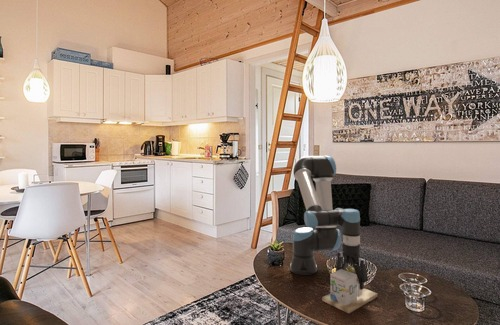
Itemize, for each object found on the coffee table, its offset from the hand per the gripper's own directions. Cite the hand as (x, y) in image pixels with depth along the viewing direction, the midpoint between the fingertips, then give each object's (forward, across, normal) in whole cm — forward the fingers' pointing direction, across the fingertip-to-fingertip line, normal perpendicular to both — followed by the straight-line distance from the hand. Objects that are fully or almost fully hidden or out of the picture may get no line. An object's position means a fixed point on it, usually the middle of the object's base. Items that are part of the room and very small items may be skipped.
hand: (351, 292), depth 142 cm
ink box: (+1, 0, -6) cm, 6 cm away
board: (+3, 0, -1) cm, 3 cm away
